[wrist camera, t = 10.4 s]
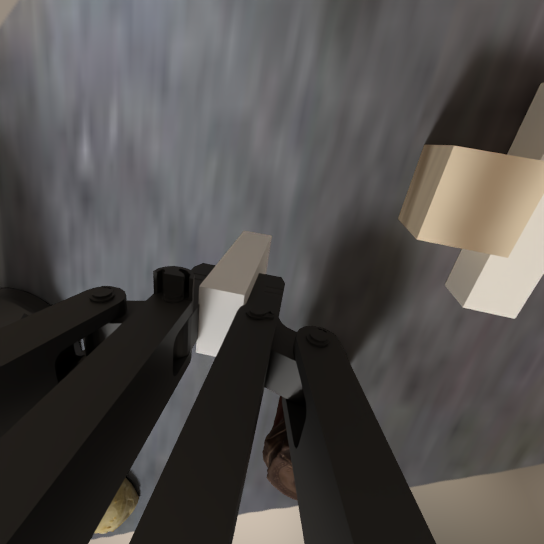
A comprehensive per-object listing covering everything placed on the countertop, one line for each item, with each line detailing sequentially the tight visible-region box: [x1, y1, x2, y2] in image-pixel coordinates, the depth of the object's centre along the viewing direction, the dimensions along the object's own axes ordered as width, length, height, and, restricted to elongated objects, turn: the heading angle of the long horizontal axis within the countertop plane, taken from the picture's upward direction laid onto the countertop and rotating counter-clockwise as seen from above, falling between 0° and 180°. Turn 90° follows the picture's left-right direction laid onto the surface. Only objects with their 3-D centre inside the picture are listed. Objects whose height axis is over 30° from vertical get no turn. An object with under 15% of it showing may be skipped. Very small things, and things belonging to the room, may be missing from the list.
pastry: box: [94, 477, 139, 534], centre depth 49 cm, size 14×12×8 cm
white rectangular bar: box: [445, 83, 544, 319], centre depth 21 cm, size 4×16×4 cm, turn 171°
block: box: [398, 145, 544, 258], centre depth 21 cm, size 6×6×6 cm
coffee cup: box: [263, 396, 298, 500], centre depth 27 cm, size 9×8×13 cm
